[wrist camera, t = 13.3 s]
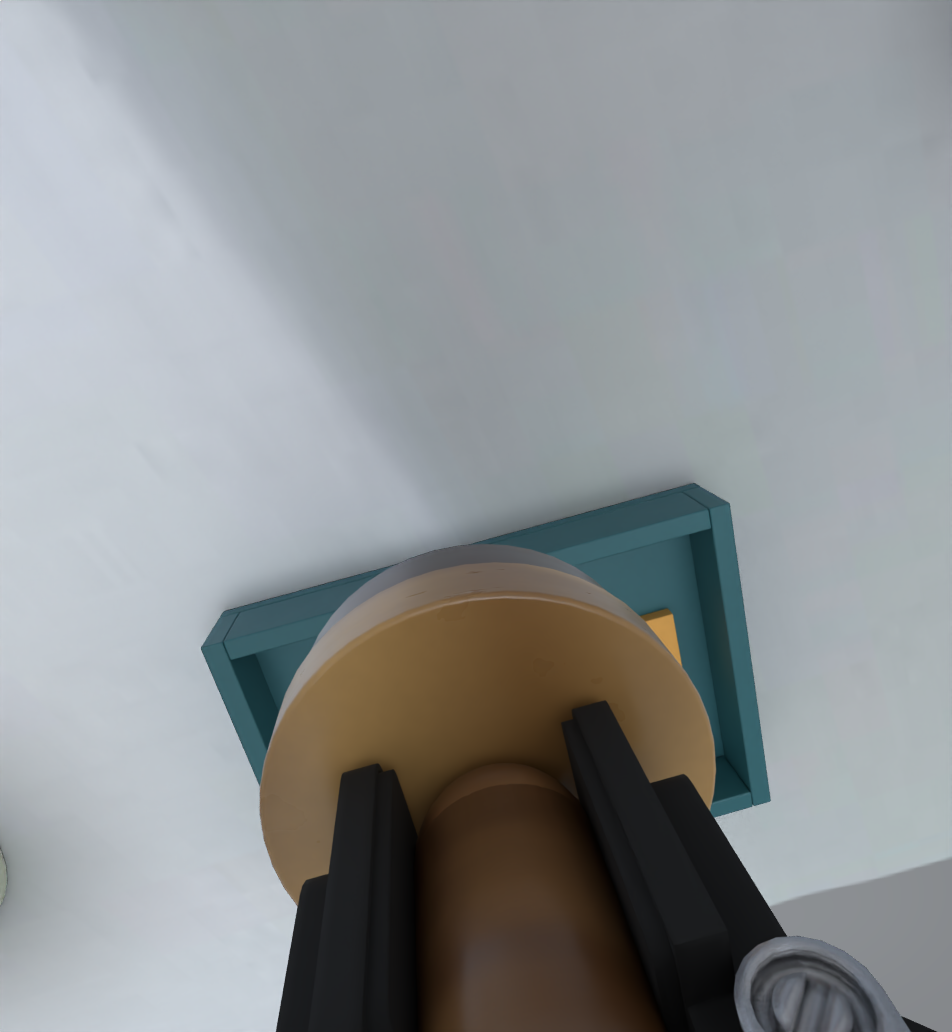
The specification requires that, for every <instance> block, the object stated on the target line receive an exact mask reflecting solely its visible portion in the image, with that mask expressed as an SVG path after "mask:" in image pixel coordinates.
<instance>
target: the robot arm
mask: <svg viewBox="0 0 952 1032" xmlns="http://www.w3.org/2000/svg"><path fill="white" fill-rule="evenodd" d="M572 717H573V719H572V720H568V721H565V722H561V725H562V730H563V735H564V739H565V743H566V747H567V751H568V756H569V760H570V764H571V768H572V772H573V777H574V781H575V785H576V789H577V793H578V797H579V802H580V804H581V806H582V807H583V809H584V810H585V812H586V814H587V816H588V818H589V821H590V823H591V826H592V829H593V831H594V834H595V837H596V839H597V842H598V845H599V848H600V850H601V853H602V856H603V858H604V861H605V864H606V867H607V869H608V872H609V875H610V877H611V880H612V883H613V885H614V888H615V891H616V894H617V896H618V899H619V902H620V904H621V907H622V910H623V913H624V915H625V918H626V921H627V923H628V926H629V929H630V931H631V934H632V937H633V940H634V942H635V945H636V948H637V950H638V953H639V956H640V958H641V961H642V964H643V967H644V969H645V972H646V975H647V977H648V980H649V983H650V986H651V988H652V991H653V994H654V996H655V999H656V1002H657V1004H658V1007H659V1010H660V1013H661V1015H662V1018H663V1021H664V1023H665V1026H666V1029H667V1031H668V1032H936V1031H934V1030H932V1029H930V1028H927V1027H925V1026H923V1025H921V1024H918V1023H916V1022H914V1021H911V1020H909V1019H907V1018H905V1017H902V1016H900V1014H899V1012H898V1011H897V1010H896V1008H895V1006H894V1005H893V1003H892V1001H891V1000H890V998H889V997H888V995H887V994H886V992H885V991H884V989H883V988H882V986H881V985H880V984H879V983H878V982H877V980H876V979H875V978H874V977H873V975H872V974H871V973H870V972H869V971H868V969H867V968H866V967H865V966H863V965H862V964H861V963H859V962H858V961H857V960H856V959H854V958H853V957H852V956H850V955H849V954H848V953H846V952H845V951H843V950H841V949H839V948H837V947H834V946H832V945H830V944H827V943H826V942H823V941H821V940H817V939H811V938H806V937H801V936H789V937H787V935H786V934H785V932H784V931H783V929H782V927H781V926H780V924H779V923H778V921H777V919H776V918H775V916H774V914H773V913H772V911H771V909H770V908H769V906H768V905H767V903H766V901H765V900H764V898H763V897H762V895H761V893H760V892H759V890H758V888H757V887H756V885H755V884H754V882H753V880H752V879H751V877H750V875H749V874H748V872H747V871H746V869H745V867H744V866H743V864H742V862H741V861H740V859H739V858H738V856H737V854H736V853H735V851H734V849H733V848H732V846H731V845H730V843H729V841H728V840H727V838H726V837H725V835H724V833H723V832H722V830H721V828H720V827H719V825H718V824H717V822H716V820H715V819H714V817H713V815H712V814H711V812H710V811H709V809H708V807H707V806H706V804H705V802H704V801H703V799H702V798H701V796H700V794H699V793H698V791H697V790H696V788H695V786H694V785H693V783H692V782H691V780H690V779H689V778H688V777H687V776H686V775H685V774H681V775H677V776H674V777H670V778H666V779H663V780H659V781H656V782H652V783H650V782H649V780H648V778H647V776H646V774H645V772H644V771H643V769H642V767H641V765H640V763H639V761H638V759H637V757H636V755H635V754H634V752H633V750H632V748H631V746H630V744H629V742H628V740H627V738H626V736H625V735H624V733H623V731H622V729H621V727H620V725H619V723H618V721H617V719H616V717H615V716H614V714H613V712H612V710H611V708H610V706H609V704H608V703H607V701H606V700H604V701H600V702H596V703H593V704H589V705H586V706H582V707H578V708H575V709H572ZM417 839H418V835H417V832H416V830H415V827H414V824H413V821H412V818H411V815H410V812H409V809H408V806H407V803H406V800H405V797H404V794H403V791H402V788H401V786H400V783H399V780H398V777H397V774H396V772H395V770H394V769H392V770H388V771H384V772H383V770H382V768H381V766H380V764H378V763H376V764H373V765H369V766H365V767H362V768H358V769H355V770H351V771H347V772H344V773H343V774H342V776H341V780H340V788H339V795H338V803H337V811H336V819H335V826H334V834H333V842H332V850H331V857H330V865H329V873H328V874H325V875H322V876H318V877H315V878H311V879H308V880H306V881H305V882H304V884H303V885H302V889H301V892H300V896H299V902H298V908H297V914H296V919H295V925H294V931H293V937H292V942H291V948H290V954H289V960H288V965H287V971H286V977H285V983H284V988H283V994H282V1000H281V1006H280V1011H279V1017H278V1023H277V1029H276V1032H418V1012H417V970H416V929H415V887H414V860H415V850H416V842H417Z"/></svg>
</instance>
